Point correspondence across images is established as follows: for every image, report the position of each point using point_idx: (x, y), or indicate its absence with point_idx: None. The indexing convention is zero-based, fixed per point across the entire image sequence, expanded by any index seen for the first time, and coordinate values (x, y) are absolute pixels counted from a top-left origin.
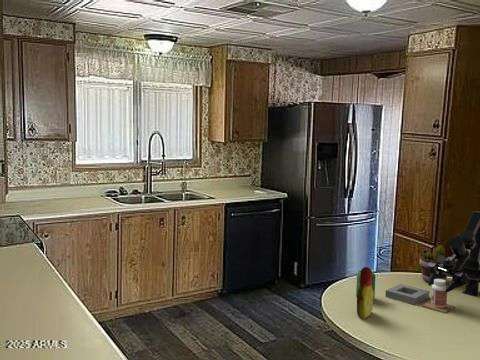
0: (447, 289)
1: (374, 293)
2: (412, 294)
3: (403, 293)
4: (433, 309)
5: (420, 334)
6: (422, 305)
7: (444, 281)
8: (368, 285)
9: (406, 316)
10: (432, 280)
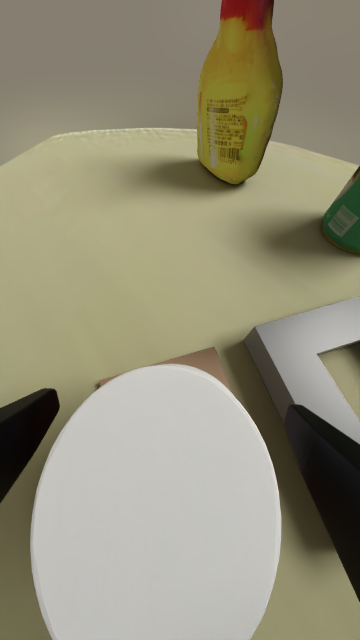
0: (15, 402)
1: (353, 223)
2: (318, 360)
3: (342, 326)
4: (159, 364)
5: (67, 197)
6: (212, 348)
7: (46, 517)
8: (221, 12)
9: (165, 238)
10: (351, 510)
